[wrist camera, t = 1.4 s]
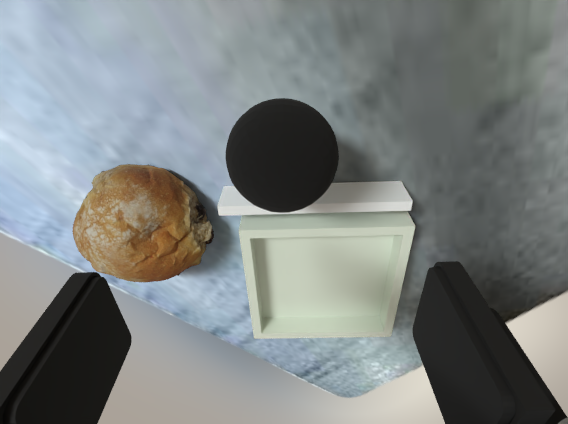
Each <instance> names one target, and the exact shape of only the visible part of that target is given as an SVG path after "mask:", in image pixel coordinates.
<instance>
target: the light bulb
mask: <svg viewBox="0 0 568 424" xmlns="http://www.w3.org/2000/svg"><path fill="white" fill-rule="evenodd" d="M338 158H339V155H338V146H337V141H336V137H335V135H334V132H333V130H332V128H331V126H330V125H329V123H328V122H327V121H326V119H325V118H324V117H323V116H322V115H321V114H320V113H319V112H318V111H317V110H315V109H314V108H312V107H311V106H309V105H307V104H305V103H303V102H300V101H297V100H293V99H285V98H282V99H272V100H267V101H264V102H261V103H259V104H257V105H255V106H254V107H252V108H250V109H249V110H248V111H247V112H246V113H245V114H243V115H242V116H241V117H240V118H239V120H238V121H237V122H236V124H235V125H234V127H233V128H232V131H231V133H230V135H229V139H228V143H227V148H226V164H227V169H228V172H229V176H230V178H231V181H232V183H233V184H234V186H235V188H236V189H237V190H238V192H239V193H240V194H241V195H242V196H243V197H244V198H245V199H246V200H248V201H249V202H250V203H252V204H253V205H254V206H257V207H259V208H261V209H264V210H267V211H270V212H277V213H289V212H293V211H297V210H301V209H303V208H305V207H307V206H309V205H311V204H313V203H314V202H315V201H317V200H318V199H319V198H320V197H321V196H322V195H323V194H324V193H325V192H326V191H327V190H328V188H329V187H330V185H331V183H332V181H333V179H334V176H335V173H336V170H337V166H338Z"/></svg>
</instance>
